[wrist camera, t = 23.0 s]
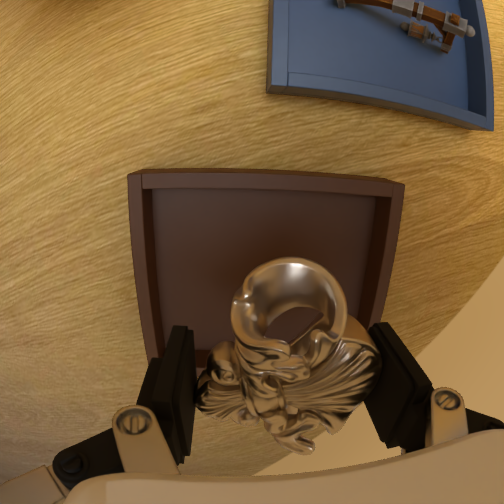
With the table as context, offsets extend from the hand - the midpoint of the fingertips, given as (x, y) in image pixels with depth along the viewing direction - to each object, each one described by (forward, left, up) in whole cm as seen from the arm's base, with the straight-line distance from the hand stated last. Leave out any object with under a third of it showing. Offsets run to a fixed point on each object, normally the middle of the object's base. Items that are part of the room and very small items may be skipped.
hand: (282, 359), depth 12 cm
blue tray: (-7, -17, -8) cm, 20 cm away
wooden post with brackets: (-7, -17, -8) cm, 20 cm away
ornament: (0, 0, -1) cm, 1 cm away
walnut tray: (0, 0, -8) cm, 8 cm away
